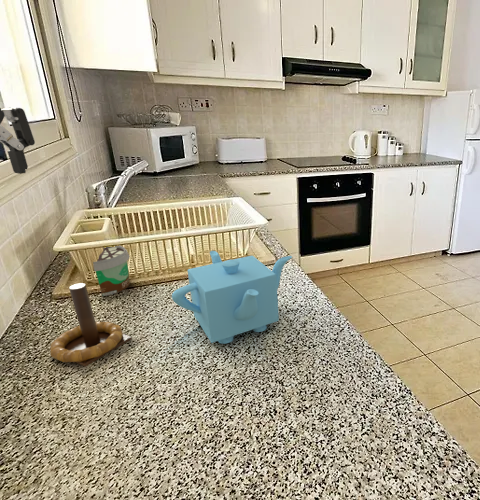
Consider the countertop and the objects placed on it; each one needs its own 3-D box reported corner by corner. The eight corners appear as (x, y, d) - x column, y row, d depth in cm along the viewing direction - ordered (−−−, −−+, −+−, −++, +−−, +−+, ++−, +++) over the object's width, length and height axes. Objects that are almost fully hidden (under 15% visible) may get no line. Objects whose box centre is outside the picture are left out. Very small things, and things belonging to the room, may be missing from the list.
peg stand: (54, 357, 68) (32, 291, 63) (101, 331, 76) (86, 271, 71) (86, 371, 65) (67, 303, 60) (133, 343, 73) (119, 280, 68)
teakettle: (171, 346, 72) (159, 277, 66) (217, 299, 89) (211, 241, 84) (265, 357, 70) (261, 287, 64) (294, 307, 87) (292, 248, 81)
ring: (37, 354, 66) (34, 344, 66) (97, 323, 76) (95, 314, 75) (78, 371, 63) (75, 361, 62) (136, 336, 72) (134, 328, 71)
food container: (132, 298, 89) (123, 259, 85) (102, 302, 87) (92, 262, 83) (138, 276, 99) (131, 241, 96) (111, 280, 97) (103, 244, 94)
